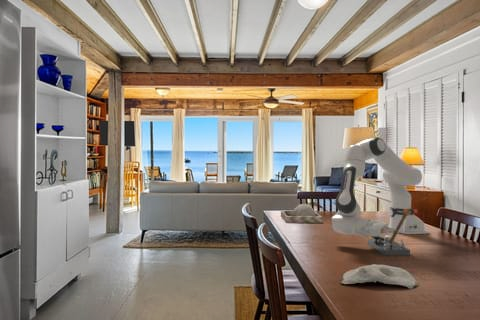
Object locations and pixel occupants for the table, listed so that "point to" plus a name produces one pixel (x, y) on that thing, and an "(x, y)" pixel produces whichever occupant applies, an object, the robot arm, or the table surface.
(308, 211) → the seashell
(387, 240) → the button
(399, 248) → the panel
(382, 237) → the block
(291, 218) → the driftwood frame
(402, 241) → the stub toggle
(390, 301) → the table surface
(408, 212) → the lever
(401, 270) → the stone
